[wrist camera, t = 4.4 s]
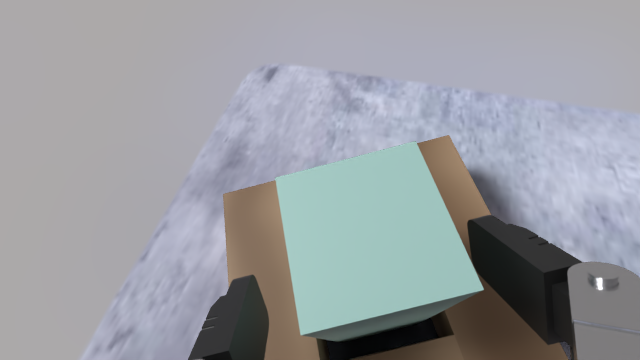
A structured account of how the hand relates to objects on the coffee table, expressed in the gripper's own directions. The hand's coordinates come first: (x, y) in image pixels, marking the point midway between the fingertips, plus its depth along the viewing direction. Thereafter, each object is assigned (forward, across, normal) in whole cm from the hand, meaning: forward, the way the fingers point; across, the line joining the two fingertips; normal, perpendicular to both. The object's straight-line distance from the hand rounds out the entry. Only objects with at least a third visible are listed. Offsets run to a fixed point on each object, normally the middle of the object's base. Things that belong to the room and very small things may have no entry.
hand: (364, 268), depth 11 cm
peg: (+5, 0, +5) cm, 7 cm away
